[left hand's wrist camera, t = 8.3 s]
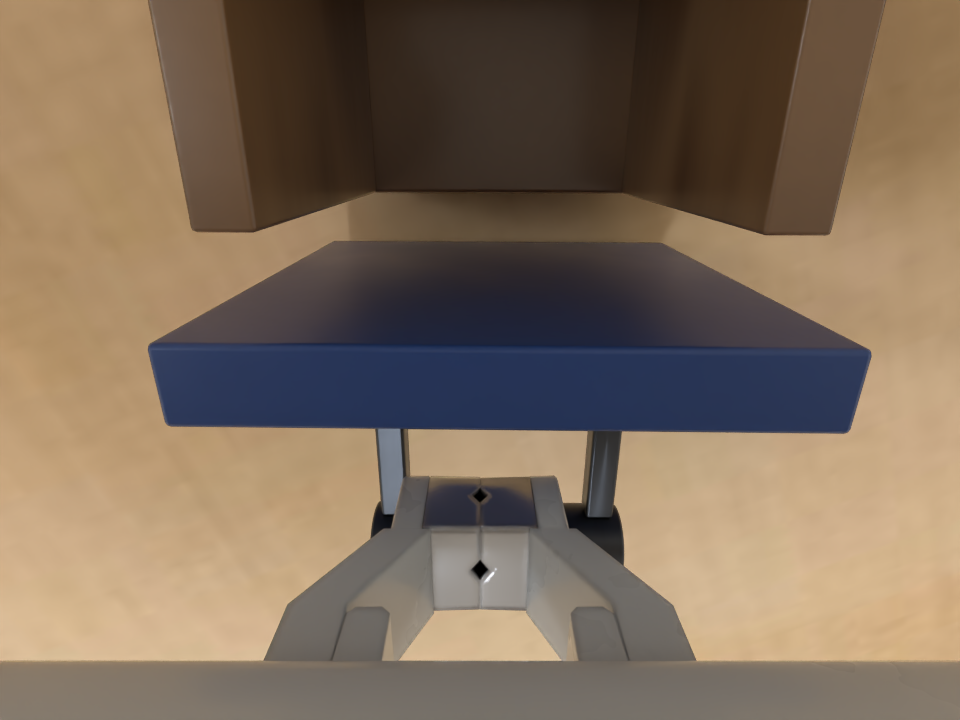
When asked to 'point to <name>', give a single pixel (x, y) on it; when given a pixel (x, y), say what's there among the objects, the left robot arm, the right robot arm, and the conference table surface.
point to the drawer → (512, 169)
